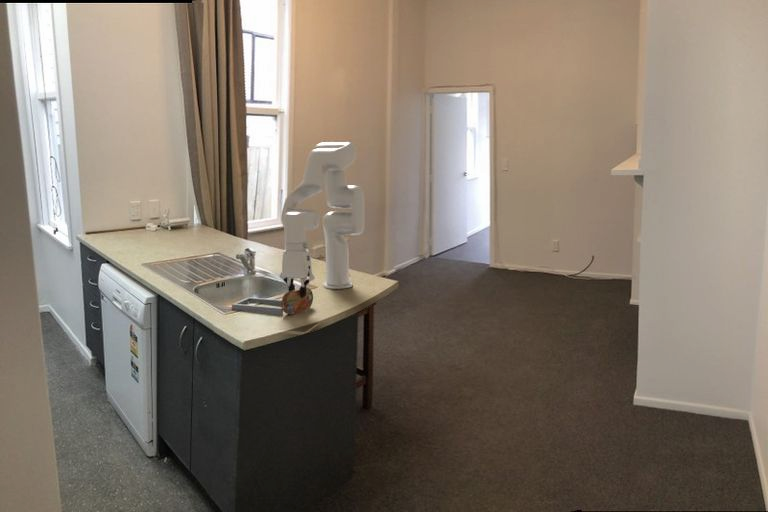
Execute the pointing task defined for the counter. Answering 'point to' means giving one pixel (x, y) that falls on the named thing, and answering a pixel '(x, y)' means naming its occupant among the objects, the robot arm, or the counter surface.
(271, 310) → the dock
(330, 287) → the robot arm
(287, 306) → the tin
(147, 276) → the counter surface
